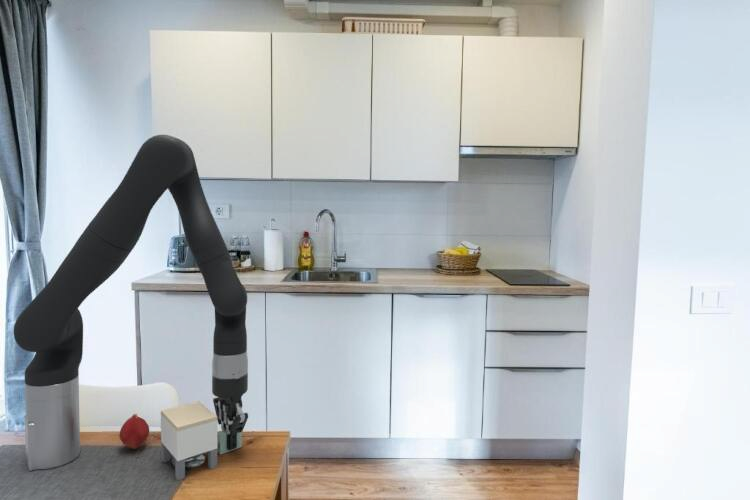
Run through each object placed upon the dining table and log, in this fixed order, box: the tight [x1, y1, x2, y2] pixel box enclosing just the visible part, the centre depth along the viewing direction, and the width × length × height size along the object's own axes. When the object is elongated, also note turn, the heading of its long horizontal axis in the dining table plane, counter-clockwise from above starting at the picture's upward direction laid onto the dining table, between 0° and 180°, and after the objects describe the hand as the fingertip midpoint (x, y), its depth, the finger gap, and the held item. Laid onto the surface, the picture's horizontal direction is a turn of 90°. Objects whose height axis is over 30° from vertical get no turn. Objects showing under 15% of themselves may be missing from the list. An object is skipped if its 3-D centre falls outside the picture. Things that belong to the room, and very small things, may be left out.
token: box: [185, 454, 206, 469], centre depth 98 cm, size 4×4×1 cm
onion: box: [119, 413, 150, 450], centre depth 103 cm, size 6×6×8 cm
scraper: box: [170, 429, 243, 467], centre depth 100 cm, size 14×5×4 cm, turn 132°
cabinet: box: [160, 400, 218, 482], centre depth 97 cm, size 8×10×11 cm
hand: (229, 446), depth 103 cm, fingers closed
